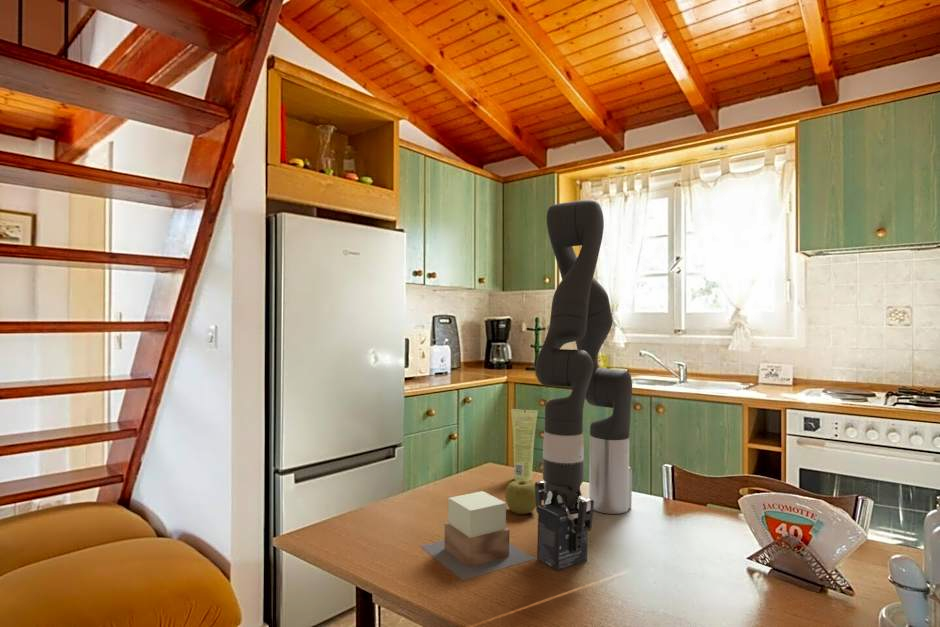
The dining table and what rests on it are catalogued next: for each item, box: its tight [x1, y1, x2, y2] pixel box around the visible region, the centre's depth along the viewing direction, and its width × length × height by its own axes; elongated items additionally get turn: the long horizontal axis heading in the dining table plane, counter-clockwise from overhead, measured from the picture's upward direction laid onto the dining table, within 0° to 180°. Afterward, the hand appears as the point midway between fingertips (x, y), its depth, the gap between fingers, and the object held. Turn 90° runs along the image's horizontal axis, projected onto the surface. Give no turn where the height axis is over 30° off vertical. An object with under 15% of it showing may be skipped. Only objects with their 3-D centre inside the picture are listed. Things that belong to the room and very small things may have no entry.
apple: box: [504, 480, 536, 515], centre depth 128 cm, size 8×8×7 cm
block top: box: [447, 490, 507, 538], centre depth 106 cm, size 8×8×5 cm
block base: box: [444, 522, 510, 567], centre depth 106 cm, size 9×9×5 cm
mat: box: [420, 539, 536, 581], centre depth 106 cm, size 16×16×1 cm
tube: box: [510, 408, 539, 482], centre depth 153 cm, size 6×5×20 cm
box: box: [536, 504, 589, 572], centre depth 103 cm, size 8×6×11 cm
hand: (562, 545), depth 103 cm, fingers open, 6 cm apart
